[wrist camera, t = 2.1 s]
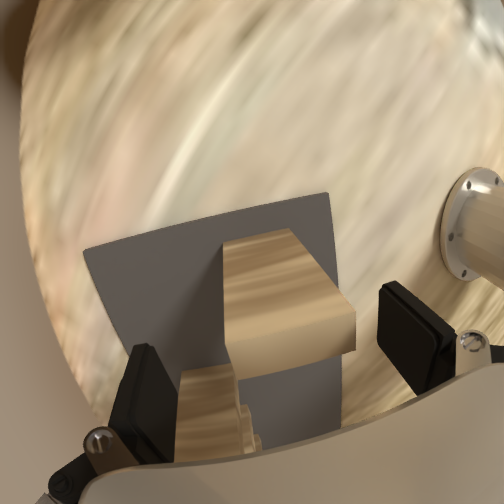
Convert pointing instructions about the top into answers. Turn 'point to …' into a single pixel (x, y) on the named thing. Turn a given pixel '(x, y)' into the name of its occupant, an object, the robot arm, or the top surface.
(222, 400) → the domino
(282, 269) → the end domino
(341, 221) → the top surface
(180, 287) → the mat
